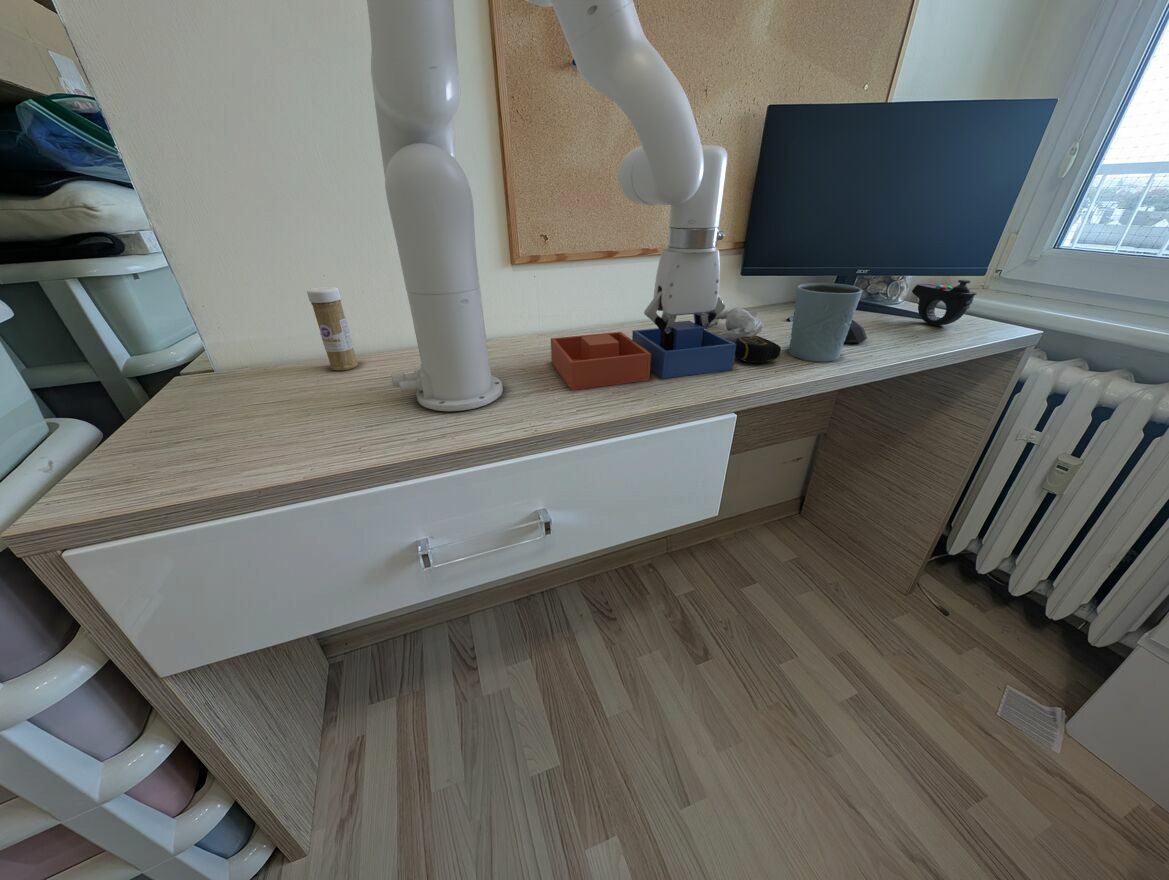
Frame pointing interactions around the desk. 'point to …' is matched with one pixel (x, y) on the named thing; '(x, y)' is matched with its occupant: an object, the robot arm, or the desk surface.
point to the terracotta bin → (600, 363)
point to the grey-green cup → (822, 320)
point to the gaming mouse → (855, 333)
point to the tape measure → (756, 349)
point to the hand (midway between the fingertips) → (681, 350)
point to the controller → (952, 297)
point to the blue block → (687, 335)
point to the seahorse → (738, 324)
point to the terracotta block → (599, 347)
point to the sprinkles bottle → (333, 327)
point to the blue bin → (686, 355)
